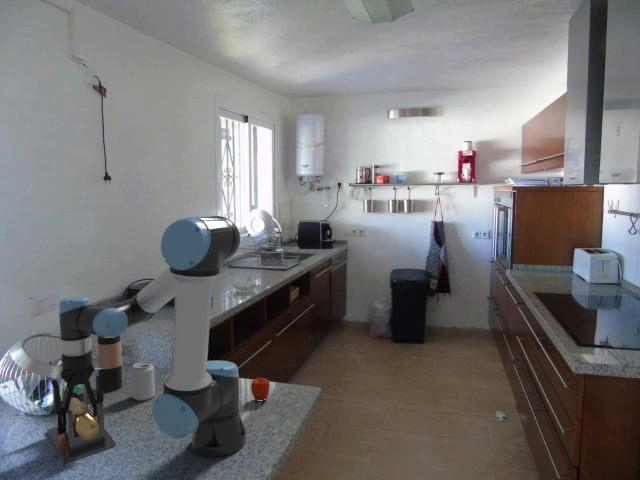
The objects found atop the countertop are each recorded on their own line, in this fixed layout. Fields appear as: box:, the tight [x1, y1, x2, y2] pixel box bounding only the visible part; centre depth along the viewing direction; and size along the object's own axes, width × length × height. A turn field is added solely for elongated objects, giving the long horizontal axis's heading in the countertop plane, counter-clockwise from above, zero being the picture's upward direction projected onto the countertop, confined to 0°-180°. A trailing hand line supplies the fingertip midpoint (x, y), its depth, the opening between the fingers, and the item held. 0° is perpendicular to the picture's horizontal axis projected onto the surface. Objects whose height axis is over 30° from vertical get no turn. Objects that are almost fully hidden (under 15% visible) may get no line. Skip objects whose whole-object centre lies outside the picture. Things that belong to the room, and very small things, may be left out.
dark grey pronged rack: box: [46, 387, 117, 465], centre depth 131 cm, size 22×13×12 cm, turn 41°
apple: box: [250, 377, 271, 401], centre depth 155 cm, size 6×6×8 cm
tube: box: [68, 397, 99, 440], centre depth 129 cm, size 20×5×5 cm, turn 41°
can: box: [130, 360, 156, 402], centre depth 159 cm, size 8×8×12 cm
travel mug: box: [97, 335, 123, 393], centre depth 166 cm, size 8×8×20 cm
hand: (80, 431), depth 129 cm, fingers closed on tube, 5 cm apart
